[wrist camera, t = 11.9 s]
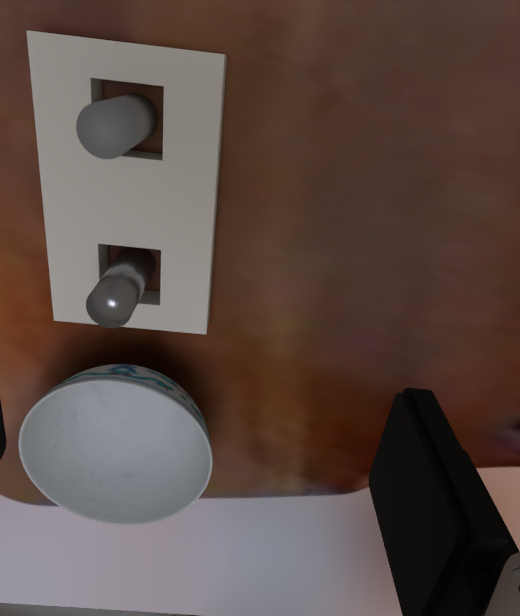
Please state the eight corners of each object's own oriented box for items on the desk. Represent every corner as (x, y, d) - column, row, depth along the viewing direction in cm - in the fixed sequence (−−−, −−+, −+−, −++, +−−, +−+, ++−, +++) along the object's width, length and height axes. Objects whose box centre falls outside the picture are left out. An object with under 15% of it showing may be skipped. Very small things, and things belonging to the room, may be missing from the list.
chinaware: (176, 304, 41) (159, 354, 34) (244, 434, 47) (241, 498, 40) (23, 359, 43) (-22, 416, 36) (106, 476, 49) (82, 543, 42)
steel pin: (117, 243, 38) (84, 284, 31) (155, 247, 38) (131, 289, 31) (118, 278, 39) (86, 325, 32) (155, 281, 40) (132, 330, 32)
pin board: (42, 32, 32) (-21, 24, 24) (227, 54, 32) (218, 52, 25) (65, 306, 41) (23, 358, 33) (208, 319, 41) (198, 373, 34)
